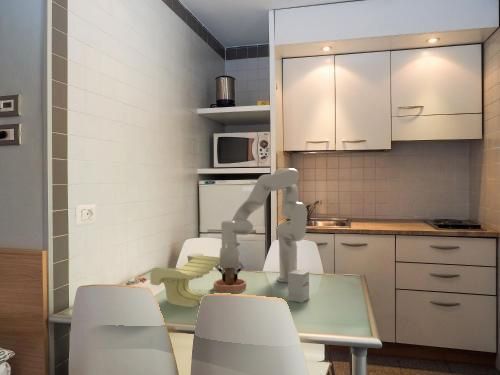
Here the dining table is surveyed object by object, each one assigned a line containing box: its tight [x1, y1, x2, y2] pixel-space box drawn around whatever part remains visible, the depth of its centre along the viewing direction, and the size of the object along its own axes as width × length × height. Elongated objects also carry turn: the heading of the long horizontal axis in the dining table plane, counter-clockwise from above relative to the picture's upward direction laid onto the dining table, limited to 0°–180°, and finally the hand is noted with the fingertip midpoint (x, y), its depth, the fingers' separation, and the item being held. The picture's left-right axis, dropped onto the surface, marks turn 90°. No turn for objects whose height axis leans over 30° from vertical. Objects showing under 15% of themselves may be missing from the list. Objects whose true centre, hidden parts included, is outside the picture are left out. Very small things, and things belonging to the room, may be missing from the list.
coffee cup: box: [187, 253, 204, 278], centre depth 229 cm, size 9×9×12 cm
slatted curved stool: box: [149, 255, 220, 308], centre depth 184 cm, size 30×16×18 cm, turn 150°
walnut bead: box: [224, 268, 235, 286], centre depth 201 cm, size 5×5×8 cm
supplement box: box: [287, 269, 310, 303], centre depth 182 cm, size 7×7×13 cm
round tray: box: [213, 278, 247, 294], centre depth 201 cm, size 16×16×4 cm
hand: (229, 281), depth 201 cm, fingers closed on walnut bead, 4 cm apart
